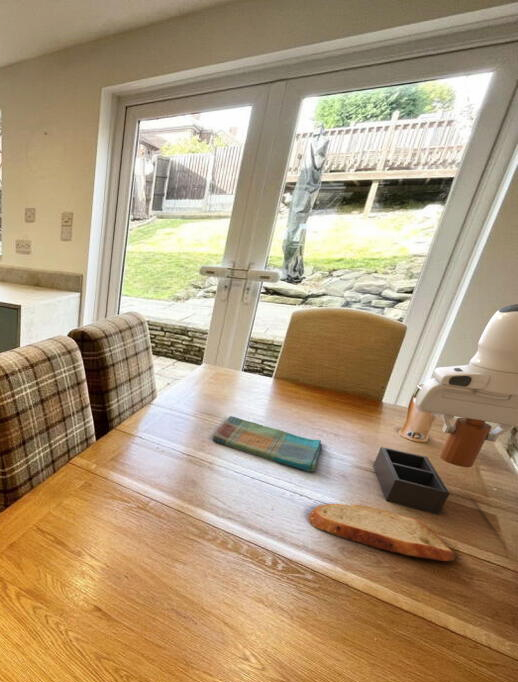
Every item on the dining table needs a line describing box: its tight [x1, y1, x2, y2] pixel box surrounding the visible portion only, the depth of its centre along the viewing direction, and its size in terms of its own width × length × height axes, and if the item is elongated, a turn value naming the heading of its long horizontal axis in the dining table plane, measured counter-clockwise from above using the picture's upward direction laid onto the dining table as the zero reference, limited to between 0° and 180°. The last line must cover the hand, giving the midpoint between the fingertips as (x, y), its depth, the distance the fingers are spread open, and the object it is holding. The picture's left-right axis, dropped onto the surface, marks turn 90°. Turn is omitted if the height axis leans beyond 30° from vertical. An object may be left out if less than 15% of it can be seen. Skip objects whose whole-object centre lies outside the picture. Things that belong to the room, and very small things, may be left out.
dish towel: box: [212, 415, 323, 473], centre depth 108 cm, size 17×23×2 cm
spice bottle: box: [439, 417, 492, 468], centre depth 89 cm, size 5×5×13 cm
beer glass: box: [398, 383, 442, 443], centre depth 110 cm, size 7×7×15 cm
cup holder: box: [372, 446, 450, 516], centre depth 90 cm, size 8×16×6 cm, turn 147°
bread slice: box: [307, 503, 455, 562], centre depth 76 cm, size 18×18×4 cm
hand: (467, 435), depth 89 cm, fingers closed on spice bottle, 5 cm apart
